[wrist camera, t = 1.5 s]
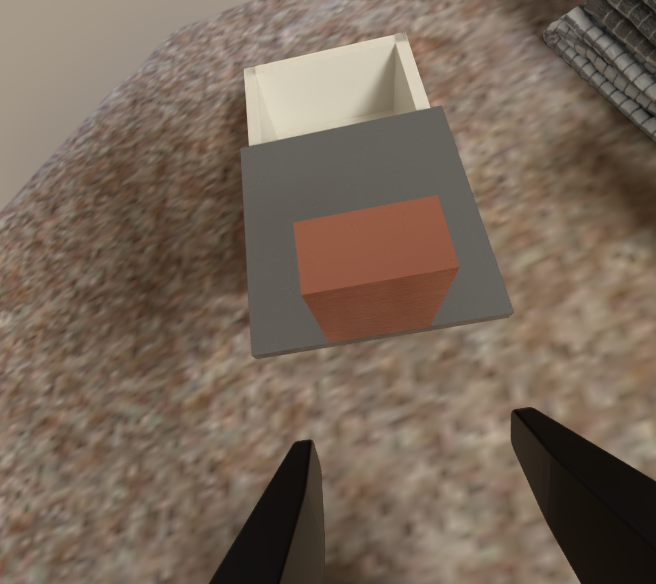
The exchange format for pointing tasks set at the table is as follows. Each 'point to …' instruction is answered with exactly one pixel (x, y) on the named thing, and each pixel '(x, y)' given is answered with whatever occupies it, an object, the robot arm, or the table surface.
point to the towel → (613, 53)
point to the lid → (364, 236)
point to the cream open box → (332, 89)
